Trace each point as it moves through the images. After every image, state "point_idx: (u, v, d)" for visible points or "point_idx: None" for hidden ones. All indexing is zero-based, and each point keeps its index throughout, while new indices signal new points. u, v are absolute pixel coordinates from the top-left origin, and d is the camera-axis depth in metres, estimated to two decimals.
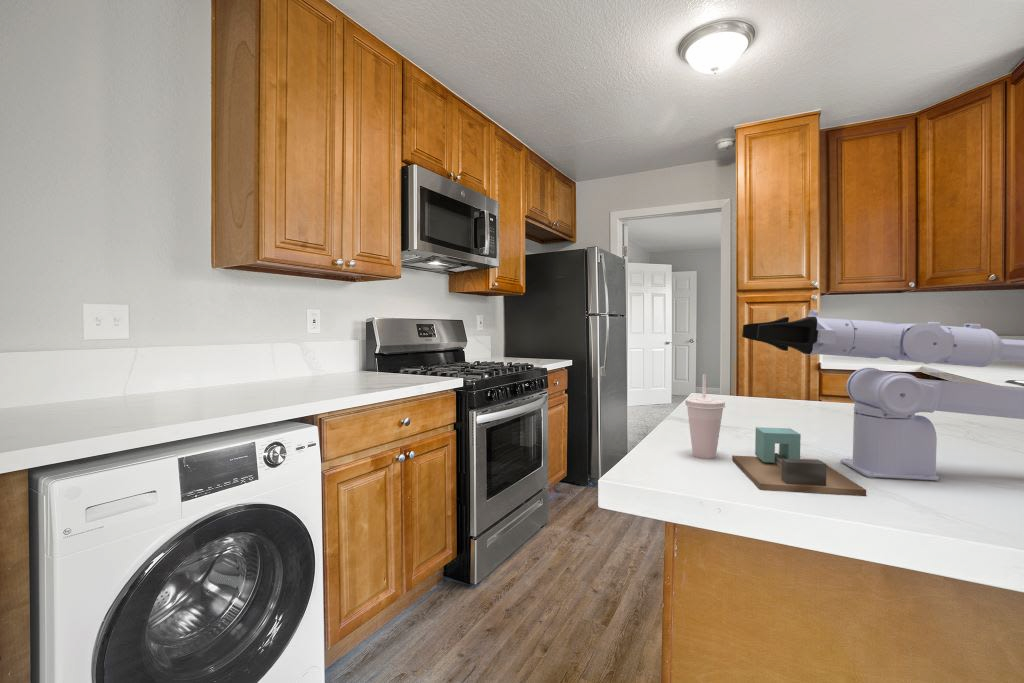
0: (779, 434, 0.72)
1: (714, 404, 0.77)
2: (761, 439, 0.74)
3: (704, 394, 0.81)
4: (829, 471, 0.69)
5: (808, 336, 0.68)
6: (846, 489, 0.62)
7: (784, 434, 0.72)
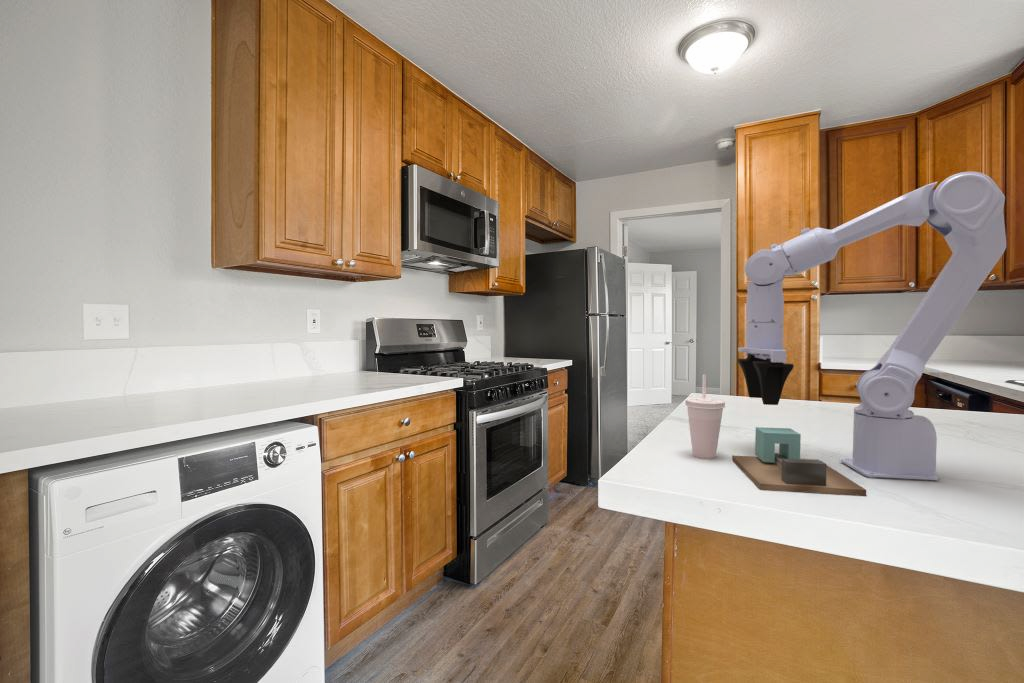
0: (779, 434, 0.72)
1: (714, 404, 0.77)
2: (761, 439, 0.74)
3: (704, 394, 0.81)
4: (829, 471, 0.69)
5: (775, 366, 0.75)
6: (846, 489, 0.62)
7: (784, 434, 0.72)
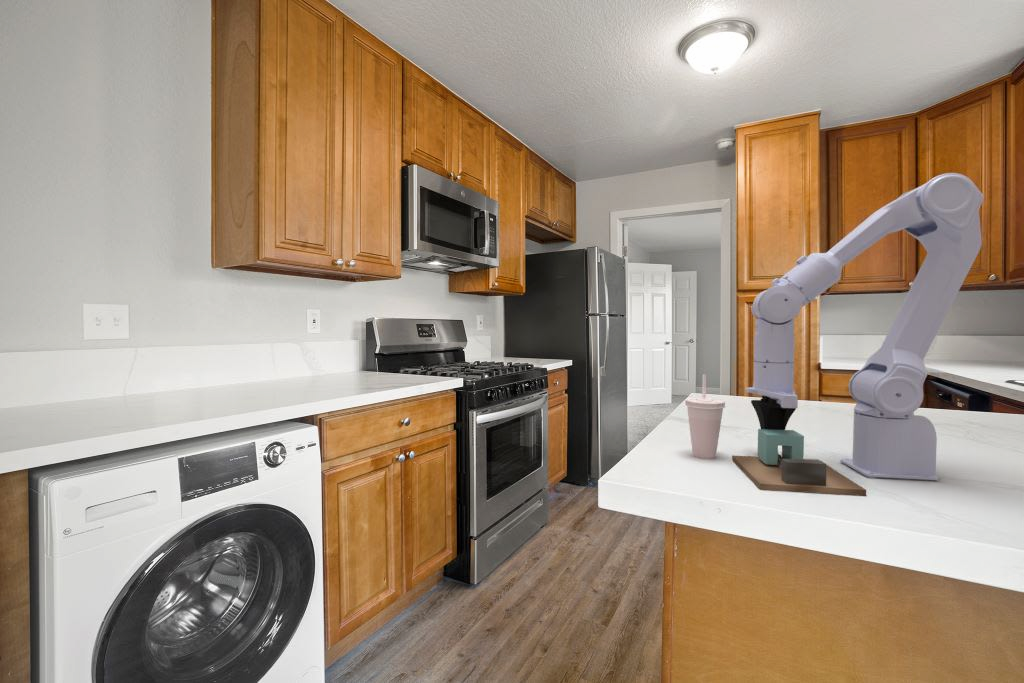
0: (782, 436, 0.71)
1: (714, 404, 0.77)
2: (764, 441, 0.73)
3: (704, 394, 0.81)
4: (829, 471, 0.69)
5: (778, 407, 0.74)
6: (846, 489, 0.62)
7: (787, 436, 0.71)
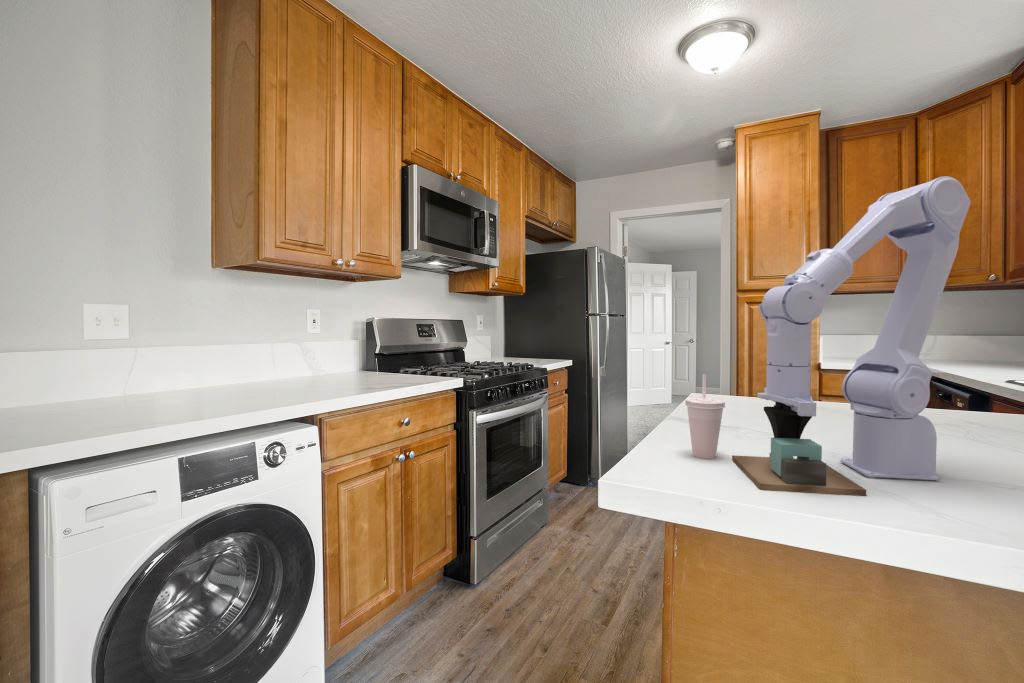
0: (798, 446, 0.65)
1: (714, 404, 0.77)
2: (778, 451, 0.67)
3: (704, 394, 0.81)
4: (829, 471, 0.69)
5: (792, 414, 0.69)
6: (846, 489, 0.62)
7: (803, 446, 0.65)
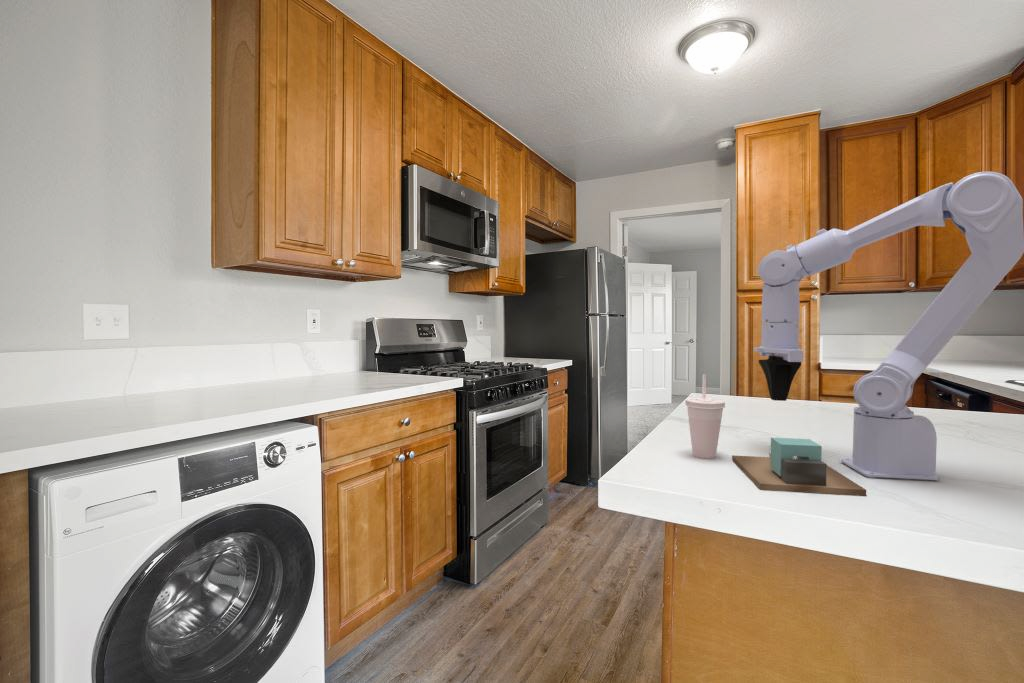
0: (798, 446, 0.65)
1: (714, 404, 0.77)
2: (777, 451, 0.67)
3: (704, 394, 0.81)
4: (829, 471, 0.69)
5: None
6: (846, 489, 0.62)
7: (803, 446, 0.65)
